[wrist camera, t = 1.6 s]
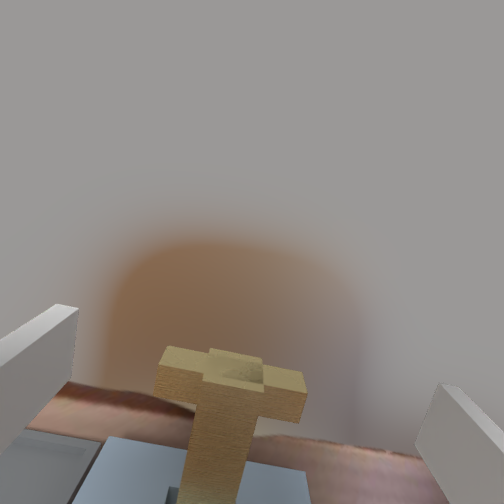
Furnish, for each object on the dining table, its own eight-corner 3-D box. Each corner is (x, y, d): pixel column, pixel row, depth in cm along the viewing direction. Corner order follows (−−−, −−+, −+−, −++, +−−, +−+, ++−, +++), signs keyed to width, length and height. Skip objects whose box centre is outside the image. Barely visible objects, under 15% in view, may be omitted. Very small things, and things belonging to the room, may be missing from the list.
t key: (249, 543, 28) (300, 365, 24) (249, 602, 24) (310, 401, 20) (137, 525, 28) (170, 339, 24) (118, 581, 24) (154, 371, 20)
